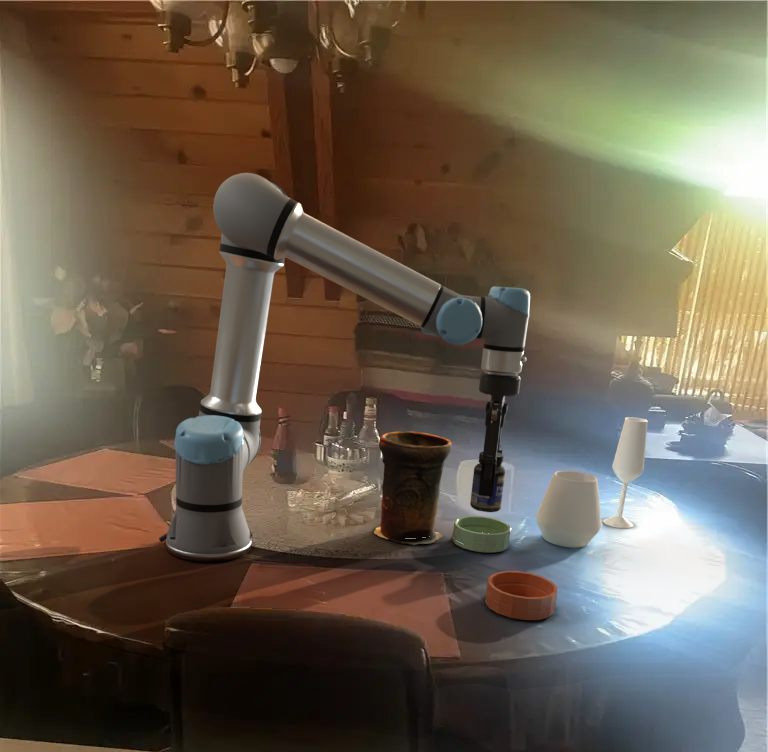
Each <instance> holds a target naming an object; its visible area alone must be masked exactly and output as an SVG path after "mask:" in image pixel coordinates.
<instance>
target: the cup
mask: <svg viewBox="0 0 768 752" xmlns="http://www.w3.org/2000/svg"><path fill="white" fill-rule="evenodd" d="M535 519H536V524H537V526H538V528H539V530H540V533H541V535H542V537H543V540H545V541H546V542H547V543H550V544H553V545H554V546H555V545H556V546H559V547H564V548H584V547H586V546H587V545H589V543H590V542H591V541H592V540H593V539H594V538H595V537H596V535H598V533H599V532H600V531H601V529H602V527H603V526H602V522H603V521H602V512H601V501H600V490H599V480H598V477H597V476H595V475H593V474H590V473H588V472H587V473H586V472H583V471H578V470H569V469H567V470H565V469H564V470H557V471H555V472H553V473H552V477H551V478H550V481H549V484H548V485H547V488H546V491H545V493H544V495H543V497H542V499H541V502H540V505H539V507H538V510H537V512H536V515H535Z"/></svg>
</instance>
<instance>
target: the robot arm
mask: <svg viewBox="0 0 768 752" xmlns="http://www.w3.org/2000/svg"><path fill="white" fill-rule="evenodd" d="M212 205H213V207H212V209H213V211H212V212H213V217H214V220H215V224H216V226H217V228H218V229H219V231H220V232H221V236H220V245H219V251H218V252H219V253H218V254H220V255H221V257H222V259H223V260H224V261H225V274H224V275H225V276H224V282H223V289H222V290H223V291H222V297H221V305H220V314H219V321H218V329H217V337H216V345H215V352H214V360H213V366H212V367H213V368H212V376H211V384H210V391H209V393H208V394H207V395H206V396H205V397H204V398H202V399H201V400H200V405H199V411H198V412H199V413H198V415H197V416H195V417H189V418H186V419H185V420H183V421H181V422H180V423H179V424H178V425H177V427H176V429H175V438H174V441H173V442H174V445H173V446H174V451H175V455H174V456H175V509H174V512H173V516H172V518H171V522H170V524H169V527H168V530H167V532H166V533H164V534H163V535H162V536H159V538H158V540H159V542H161V543H163V542H164V541H165V548H166V551H167V552H168V553H169V554H170V555H172V556H174V557H177V558H179V559H181V560H186V561H191V562H202V563H212V562H214V563H216V562H225V561H231V560H234V559H237V558H240V557H243V556H244V555H246V554H248V553H249V552H250V551H251V549H252V539H253V532H252V530H251V528H249V525H248V522H247V519H246V516H245V513H244V510H243V476H244V475H243V473H244V471H245V470H246V469H247V468H248V466H249V465H250V464H251V463H253V461H254V460H255V459H256V457H257V455H258V453H259V451H260V448H261V443H262V438H261V437H262V435H261V430H260V427H261V420H262V412H263V411H262V408H261V407H260V406H259V404H258V403H257V399H256V398H257V391H258V384H259V377H260V372H261V363H262V358H263V352H264V351H263V350H264V346H265V345H264V344H265V337H266V332H267V331H266V330H267V324H268V317H269V310H270V302H271V297H272V289H273V283H274V277H275V273H276V272H278V271H279V270H280V269H281V268H283V267H284V265H285V259H288V260H289V261H291V262H294V263H296V264H297V265H300V266H302V267H303V268H306V269H307V270H310V271H311V272H314V273H316V274H317V275H319V276H320V277H323V278H325V279H327V280H329V281H330V282H333V283H335V284H337V285H339V286H341V287H342V288H345V289H346V290H349V291H351V292H353V293H355V294H356V295H359V296H360V297H362V298H364V299H367V300H368V301H370V302H373V303H374V304H375V305H377V306H380V307H382V308H384V309H385V310H388V311H389V312H391V313H394V314H395V315H397V316H400V317H402V318H403V319H405V320H407V321H409V322H411V323H413V324H415V325H417V326H419V327H421V328H420V329H421V332H422V334H424V335H428V336H434V337H439V338H441V339H442V340H443V341H444V342H446V343H448V344H450V345H453V346H462V345H466V344H469V343H470V342H472V341H474V340H475V339H477V340H480V339H482V340H484V343H483V348H482V355H481V363H480V364H481V365H480V369H481V370H482V372H481V373H480V377H479V384H478V385H479V387H478V391H479V392H480V393H482V394H484V395H490V401H487V402H486V404H485V413H486V414H485V420H484V426H485V435H484V443H483V451H482V452H483V457H482V459H479V458H478V463H482V468H481V477H480V485H479V494H478V495H481V496H489V497H493V489H494V481H495V473H496V464H497V463H496V462H497V459H496V457H497V453H501V454H503V455H504V450H502V449H501V446H502V445H501V441H502V433H503V428H504V425H505V422H506V415H507V414H508V407H509V403H507V402H506V400H505V399H506V397H509V398H511V397H516V396H518V395H519V394H520V386H521V379H522V378H521V375H519V374H520V373H521V372H522V368H523V363H526V362H527V357H526V356H523V355H524V352H525V347H526V338H527V331H528V324H529V318H530V304H531V293H530V291H529V290H527V289H526V288H521V287H507V286H495V285H494V286H492V287H491V288H490V289H489V293H488V295H487V296H474V295H465V294H464V295H463V294H459V293H457V292H456V291H454V290H452V289H450V288H448V287H446V286H443V285H442V284H440V283H439V282H436V281H435V280H433V279H431V278H429V277H427V276H425V275H423V274H421V273H420V272H418V271H415V270H414V269H412V268H410V267H408V266H406V265H404V264H402V263H401V262H398V261H397V260H395V259H393V258H391V257H389V256H387V255H385V254H384V253H381V252H379V251H378V250H376V249H374V248H372V247H369V246H368V245H366V244H365V243H362V242H361V241H359V240H356V239H354V238H353V237H351V236H349V235H347V234H345V233H344V232H342V231H340V230H337V229H335V228H333V227H332V226H330V225H328V224H326V223H324V222H322V221H320V220H319V219H317V218H314V217H313V216H311V215H309V214H307V213H305V212H304V210H303V206H302V204H301V203H300V202H298V201H296V200H294V199H292V198H291V197H288V195H287V194H286V192H285V191H284V190H283V189H282V188H281V187H280V186H278V184H275V183H274V182H272V181H270V180H268V179H267V178H265V177H263V176H261V175H259V174H257V173H252V172H251V173H250V172H241V173H237V174H233V175H231V176H230V177H228V178H227V179H225V180H224V181H223V182H222V183H221V184H220V186H219V187H218V188H217V191H216V193H215V195H214V199H213V204H212ZM486 455H488V456H486Z"/></svg>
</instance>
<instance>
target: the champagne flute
mask: <svg viewBox="0 0 768 752" xmlns="http://www.w3.org/2000/svg"><path fill="white" fill-rule="evenodd" d="M623 421H624V422H623V425H622V429H621V433H620V436H619V440H618V442H617V443H618V444H617V448H616V451H615V454H614V458H613V462H612V465H611V466H612V467H611V468H612V471H613V473H614V475H615V476H616V477H617V479H618V480H619V481H621V483H622V484H621V487H620V495H619V500H618V506H617V510H616V511H617V512H616V514H615V515H612V516H610V517H607V518H604V519H603V520H602V522H603V523H604V524H605V525H606V526H609V527H612V528H618V529H631V528H633V527H634V524H633V523H632V522H631V521H629V519H627V518H626V517H624V515H623V512H624V507H625V502H626V496H627V490H628V484H629V483H632V482H634V481H635V480H636V479H638V478H639V477H640V476H641V475H642V474H643V473H644V470H645V468H644V467H645V459H646V458H645V457H646V446H647V445H646V444H647V435H648V434H647V433H648V424H649V423H648V422H649V421H648V420H647V419H645V418H641V417H632V416H627V417H625V418H624V420H623Z"/></svg>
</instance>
